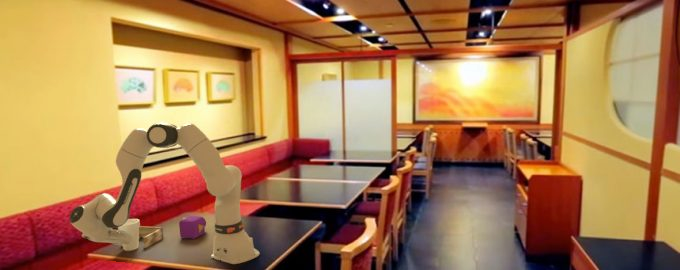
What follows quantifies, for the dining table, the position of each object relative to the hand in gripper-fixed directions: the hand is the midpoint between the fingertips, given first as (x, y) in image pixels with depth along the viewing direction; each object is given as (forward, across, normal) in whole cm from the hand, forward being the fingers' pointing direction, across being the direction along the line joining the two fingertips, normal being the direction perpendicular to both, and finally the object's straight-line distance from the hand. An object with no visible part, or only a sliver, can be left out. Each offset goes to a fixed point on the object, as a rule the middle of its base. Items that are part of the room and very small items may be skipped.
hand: (119, 243), depth 193 cm
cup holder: (+14, 0, -7) cm, 15 cm away
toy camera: (+23, -21, -16) cm, 35 cm away
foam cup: (+8, 0, -1) cm, 8 cm away
